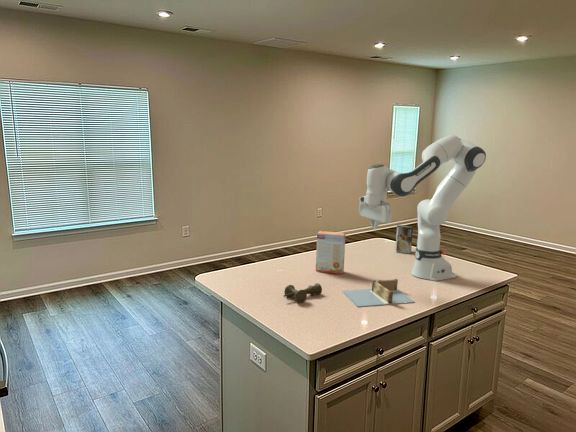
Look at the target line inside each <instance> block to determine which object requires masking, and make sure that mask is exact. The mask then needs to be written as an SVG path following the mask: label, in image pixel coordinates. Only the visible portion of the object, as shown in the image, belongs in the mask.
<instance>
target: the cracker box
mask: <svg viewBox="0 0 576 432" xmlns="http://www.w3.org/2000/svg"><path fill="white" fill-rule="evenodd" d="M315 252H316V253H315V255H316V257H315V271H316V272H319V273H320V272H322V273H329V274H336V275H342V274H343V273H344V270H345V253H346V232H337V231H328V230H327V231H326V230H318V232H317V233H316V251H315Z"/></svg>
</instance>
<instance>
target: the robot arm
mask: <svg viewBox="0 0 576 432" xmlns="http://www.w3.org/2000/svg"><path fill="white" fill-rule="evenodd" d="M486 158H487V155H486V152H485V150H484V149H483V148H481V147H480V146H478V145H476V144H474V143H473V142H470V141H467V140H464V139H461V138H459V136H457V135H455V134H449V135H446V136H444V137H441V138H439V139H438V140H435V141H434V142H433V143H431V144H429V145H428V146H426V147H425V148H424V149H423V150H422V152H421V160H422V163H419V165H418V166H416V167H414V169H411V171H408V172H399V171H395V170H393V169H391V168H389V167H388V166H387V165H385V164H383V163H382V164H374V165H371V166H369V168H368V170H367V172H366V173H367V174H366V186H367V189H366V191H365V193H366V194H365V195H363V196H360V197H359V198H358V199H359V200H358V201H359V204H358V205H359V207H358V213H359V215H360V216H361V217H364V218H366V219H369V222H370V225H371V226H370V228H371V229H373V230H378V229H379V225H380V224H381V223H383V224H391V223H392V221H393V217H392V216H393V212H392V207H391V205H390V203H389V202H387V201H386V197H387V196H386V193H387V192H390V193H393V194H395V195H397V196H399V197H406V196H409V195H410V194H412V193H413V191H415V189H416V187H417V186H418V185H419V184H420V183H421V182H423V181H424V180H425V179H427V178H428V177H429V176H430V175H432V174H433V173H435V171H437V170H438V169H439V168H440V167H442V166H443V165H445V164H446V163H448V162H449V161H450V160H452V161H453V162H455V164H454V166H453V167H452V168H451V169H450V171H448V173H447V174H446V175H445V177H444V178H443V179H442V180H441V182H440V183H439V184H438V185H437V187H436V189H435V192H434V194H433V196H432V198H431V199H429V198H427V199H423V200H421V201H420V202H419V203H418V204H417V207H416V211H417V232H418V233H417V243H416V248H415V255H414V256H415V259H414V263H413V267H412V270H411V275H412V276H414V277H417V278H419V279H423V280H424V279H426V280H429V281H434V282H437V281H444V280H450V279H455V278H457V274H456V273H455V272H453V270H452V269H453V268H452V264H451V263H450V262H449V261H447V260H446V259H445V258H444V257H443V256H445V255H446V254H447V252H446V251H445V250H441V249H440V248H441V238H442V237H441V236H442V235H441V229H440V228H441V227H440V226H441V225H444V224H445V223H446V221H447V219H448V217H449V213H450V211H451V210H452V208H453V206H454V204H455V202H456V201H457V200H458V198H459V197H460V195H461V194H462V193H463V192H464V190H465V189H466V188H467V187H468V185H469V184H470V183H471V181H472V180H473V178H474V176H475V174H476V171H477V170H478V169H480V168H481V167H482V166H483V164H484V163H485V162H486Z"/></svg>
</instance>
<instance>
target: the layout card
mask: <svg viewBox="0 0 576 432" xmlns="http://www.w3.org/2000/svg"><path fill="white" fill-rule="evenodd" d="M398 281H399V279H398V278H394V279H383V280H382V279H377V280H376V282H377V283H379V284H380V285H382V286H383V287H385V288H386V289H388V290H390V291H392V292H393V298H392V303H388V302H387V301H386V300H385V299H383V298H382V297H380V296H379V295H377V294H376V293H375V292H373V291H372V288H363V289H362V288H361V289H350V290H349V289H347V290H342V291H341V292H342V293H343V294H344V295H345V296H346V297H347V298H348V299H349V300H350V301H351V302H352V303H353V304H354V305H355V306H356V307H357V308H363V307H365V308H366V307H375V306H390V305H400V304H401V305H402V304H413V303H416V301H415V300H414V299H412V298H411V297H409V296H408V295H407V294H406V293H404V292H403V291H401V290H400V289H399V288H398Z"/></svg>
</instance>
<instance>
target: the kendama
mask: <svg viewBox="0 0 576 432" xmlns="http://www.w3.org/2000/svg"><path fill="white" fill-rule="evenodd" d="M322 291H323V288H322V285H321V284H320V283H315V284H314V285H308V287H307V288H304V289H300V290H297V289H296V288H295V286H294V285H293V284H289V285H286V287H285V288H284V294H283V297H285V298H286V297H287V298H292V297H293V298H294V300H295V302H296V303H297V304H302V303H304V302H305V301H306V299H307V296H308V295H310V296H313V295H315V294H316V295H322Z"/></svg>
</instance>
